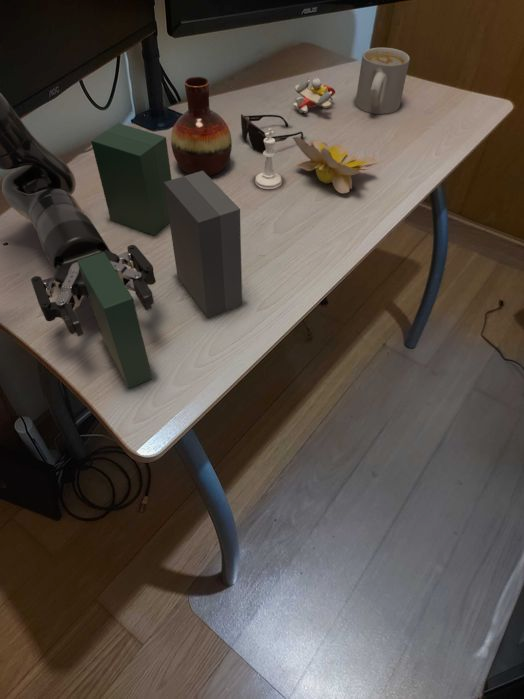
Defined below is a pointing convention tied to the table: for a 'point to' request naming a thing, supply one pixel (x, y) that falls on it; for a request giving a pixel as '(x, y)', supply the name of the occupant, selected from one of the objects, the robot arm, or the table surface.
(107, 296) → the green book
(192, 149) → the vase
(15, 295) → the table surface
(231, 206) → the grey faceted block
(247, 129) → the sunglasses
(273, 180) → the chess piece
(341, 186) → the decorative flower
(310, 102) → the toy airplane
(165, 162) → the green rectangular block
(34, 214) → the robot arm
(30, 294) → the table surface
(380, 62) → the coffee mug
